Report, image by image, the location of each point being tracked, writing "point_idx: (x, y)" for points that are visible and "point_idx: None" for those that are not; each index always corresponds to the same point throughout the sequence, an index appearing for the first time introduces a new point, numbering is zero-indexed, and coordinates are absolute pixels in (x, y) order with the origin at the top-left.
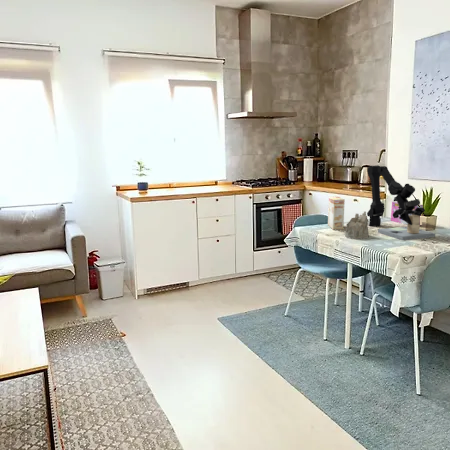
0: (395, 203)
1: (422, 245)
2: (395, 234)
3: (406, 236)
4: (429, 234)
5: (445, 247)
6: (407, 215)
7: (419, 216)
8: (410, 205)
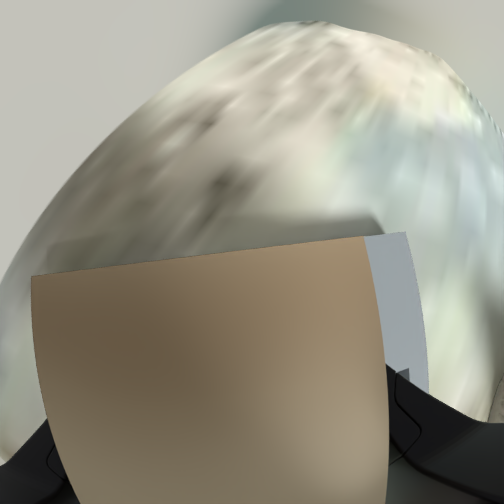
0: None
1: (320, 89)
2: (423, 328)
3: (369, 236)
4: None
5: (224, 47)
6: (458, 446)
7: (64, 274)
8: None
